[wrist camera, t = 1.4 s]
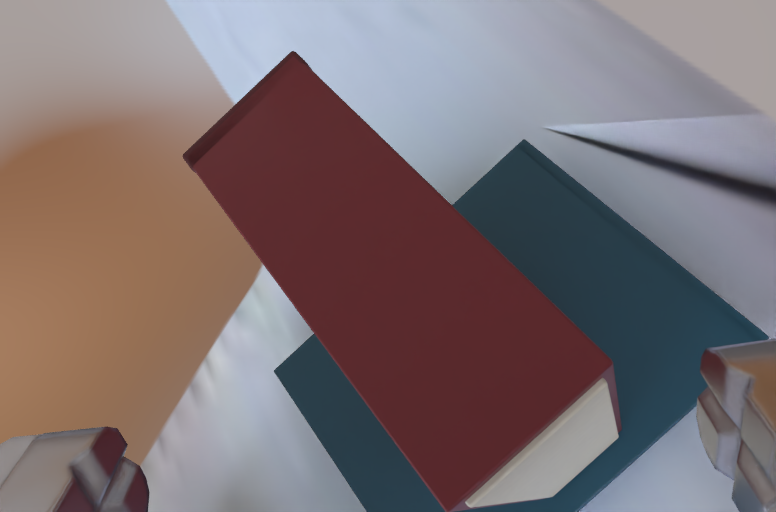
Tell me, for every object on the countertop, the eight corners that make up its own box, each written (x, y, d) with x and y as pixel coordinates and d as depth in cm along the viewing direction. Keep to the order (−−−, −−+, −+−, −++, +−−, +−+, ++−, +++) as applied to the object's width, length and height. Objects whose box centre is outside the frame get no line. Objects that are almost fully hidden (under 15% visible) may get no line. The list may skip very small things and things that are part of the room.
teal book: (533, 167, 31) (524, 138, 28) (755, 352, 25) (770, 336, 22) (302, 380, 32) (273, 370, 29) (463, 614, 25) (444, 629, 23)
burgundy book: (438, 239, 28) (292, 48, 16) (626, 431, 23) (623, 366, 11) (374, 298, 28) (180, 155, 16) (545, 504, 23) (449, 523, 11)
